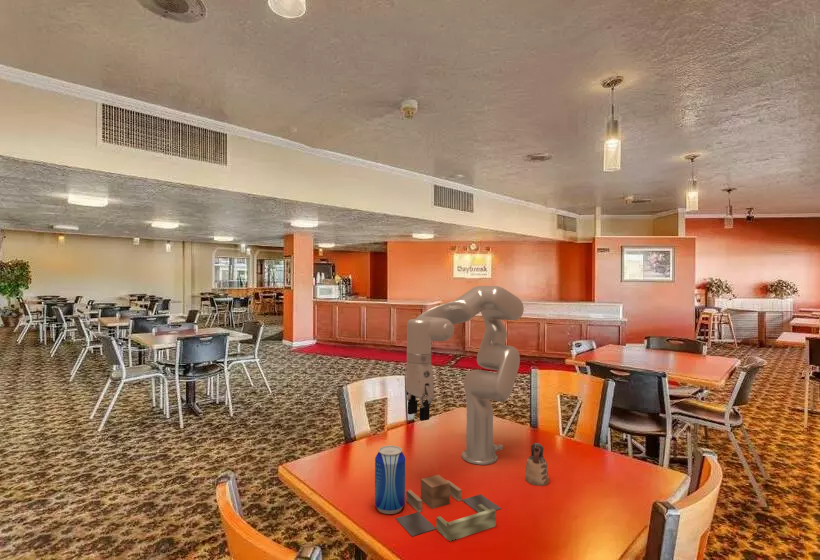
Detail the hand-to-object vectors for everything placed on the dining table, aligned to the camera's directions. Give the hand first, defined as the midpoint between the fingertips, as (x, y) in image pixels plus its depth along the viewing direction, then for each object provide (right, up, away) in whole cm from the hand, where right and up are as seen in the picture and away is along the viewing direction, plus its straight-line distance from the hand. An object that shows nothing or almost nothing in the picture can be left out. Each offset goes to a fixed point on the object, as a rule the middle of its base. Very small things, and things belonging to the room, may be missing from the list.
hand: (418, 416), depth 130 cm
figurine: (+38, -22, +5) cm, 44 cm away
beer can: (-8, -21, -13) cm, 26 cm away
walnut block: (+5, -22, -9) cm, 24 cm away
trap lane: (+8, -21, -16) cm, 28 cm away
